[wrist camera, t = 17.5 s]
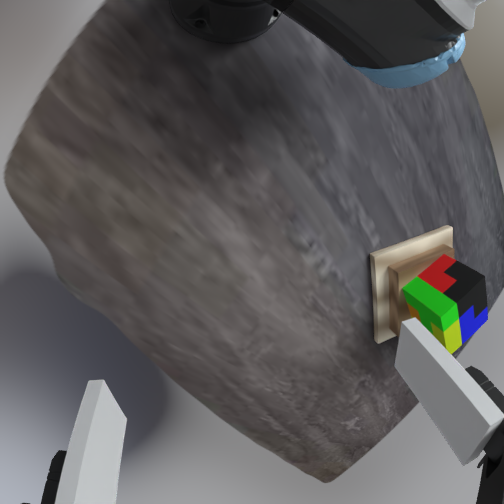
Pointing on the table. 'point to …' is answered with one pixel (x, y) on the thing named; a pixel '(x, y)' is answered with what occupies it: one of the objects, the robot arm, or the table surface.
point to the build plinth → (383, 274)
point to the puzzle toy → (448, 301)
